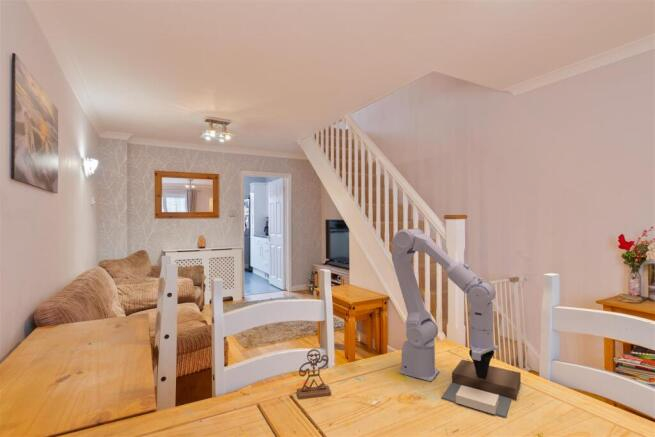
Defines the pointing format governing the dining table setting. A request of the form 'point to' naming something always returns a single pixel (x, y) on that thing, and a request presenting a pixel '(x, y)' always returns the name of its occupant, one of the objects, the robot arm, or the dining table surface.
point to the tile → (477, 399)
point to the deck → (488, 379)
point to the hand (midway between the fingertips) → (481, 377)
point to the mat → (451, 396)
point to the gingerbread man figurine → (313, 391)
